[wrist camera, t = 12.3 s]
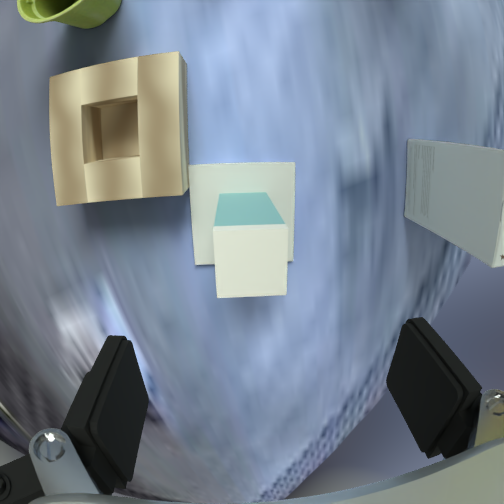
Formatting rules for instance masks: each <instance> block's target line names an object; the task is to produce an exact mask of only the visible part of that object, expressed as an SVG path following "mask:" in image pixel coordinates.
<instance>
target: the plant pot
mask: <svg viewBox="0 0 504 504" xmlns="http://www.w3.org/2000/svg"><path fill="white" fill-rule="evenodd" d="M121 1H122V0H17V7H18V11H19V13H20V15H21V17H22V18H24V19H25V20H26V21H29V22H32V23H45V22H49V21H57V22H61V23H65V24H69V25H72V26H75V27H79V28H83V29H88V28H93V27H97V26H99V25H101V24H103V23H104V22H105V21H106V20H107V19H108V18H109V17H111V16H112V15H113V14H115V12H116V11H117V10H118V8H119V6H120V4H121Z"/></svg>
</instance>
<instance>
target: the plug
mask: <svg viewBox="0 0 504 504" xmlns="http://www.w3.org/2000/svg"><path fill="white" fill-rule="evenodd" d="M213 242H214V259H215V274H216V288H217V298H231V297H254V296H274V295H286V291H287V261H288V227H287V226H286V224H285V222H284V221H283V219H282V217H281V216H280V214H279V212H278V211H277V209H276V208H275V206H274V204H273V203H272V201H271V199H270V198H269V196H268V195H267V193H266V192H252V193H222V194H219V199H218V205H217V210H216V216H215V222H214V227H213Z"/></svg>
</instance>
